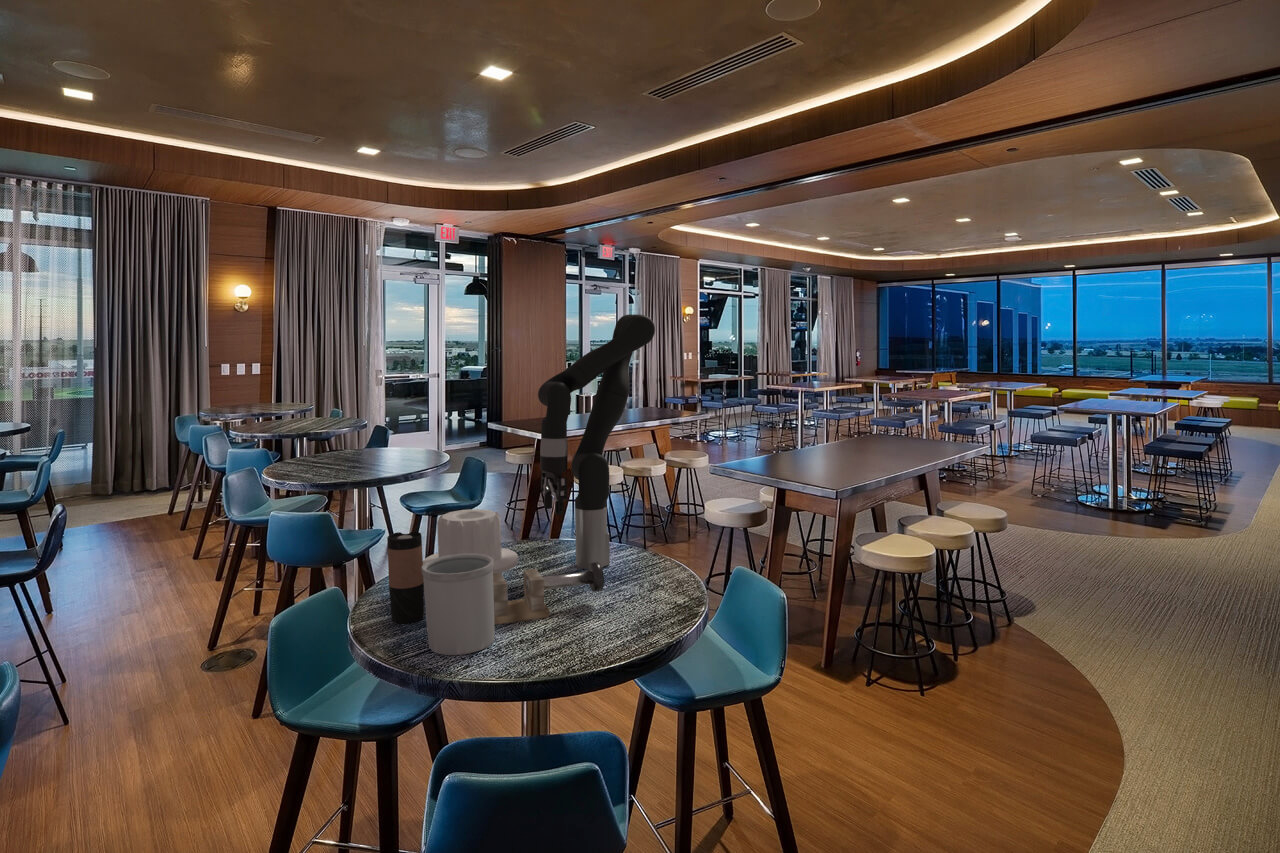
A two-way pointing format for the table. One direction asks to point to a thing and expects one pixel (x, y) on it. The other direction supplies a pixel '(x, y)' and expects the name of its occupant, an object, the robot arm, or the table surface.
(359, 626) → the table surface
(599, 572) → the shaft
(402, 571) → the travel mug
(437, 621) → the utensil holder
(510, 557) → the ribbed cylinder on disc
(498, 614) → the block
